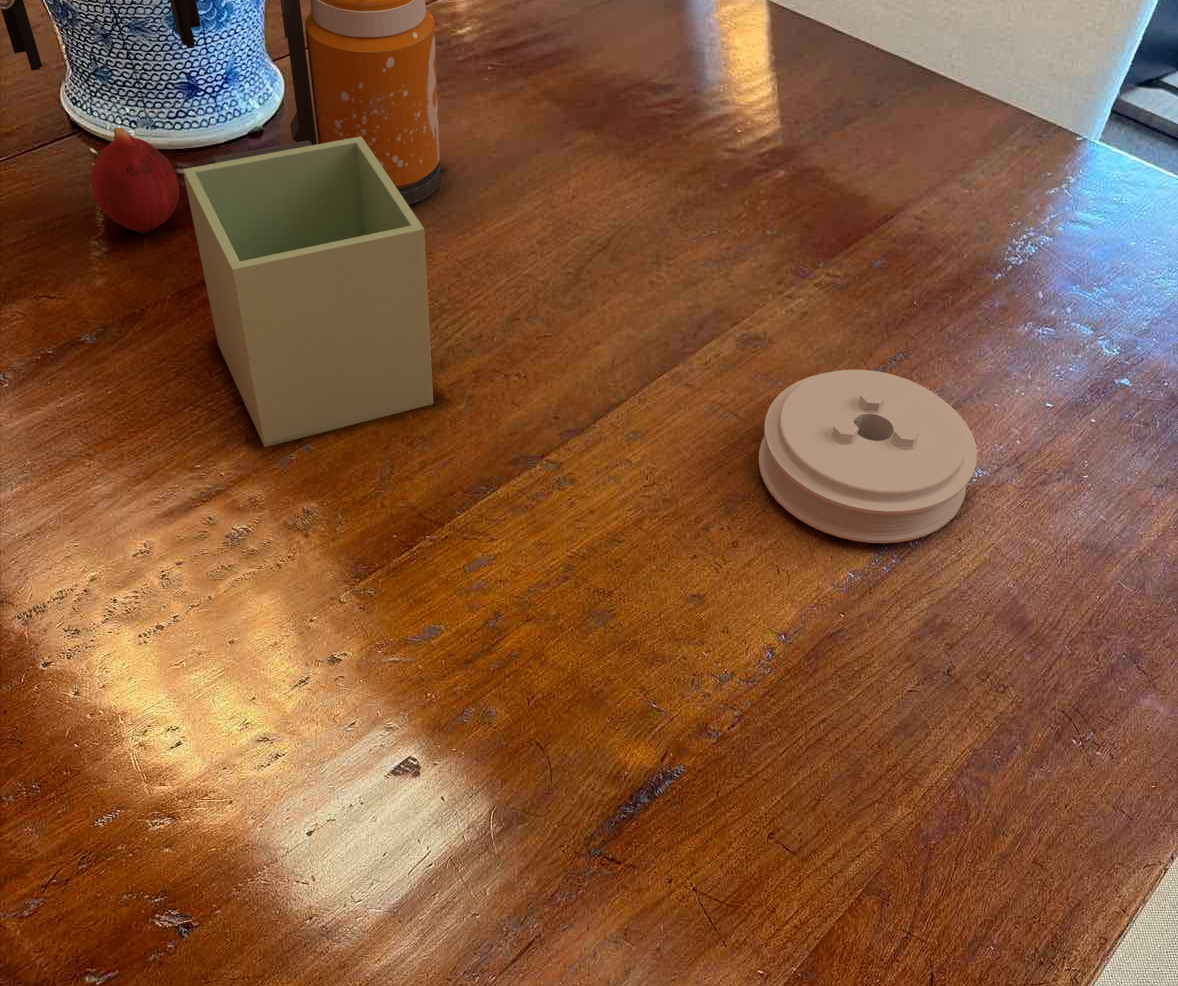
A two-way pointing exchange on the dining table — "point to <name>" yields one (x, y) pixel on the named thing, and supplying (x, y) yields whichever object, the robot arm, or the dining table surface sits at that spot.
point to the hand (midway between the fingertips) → (111, 49)
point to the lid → (866, 456)
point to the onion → (134, 183)
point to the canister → (369, 83)
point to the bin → (314, 285)
